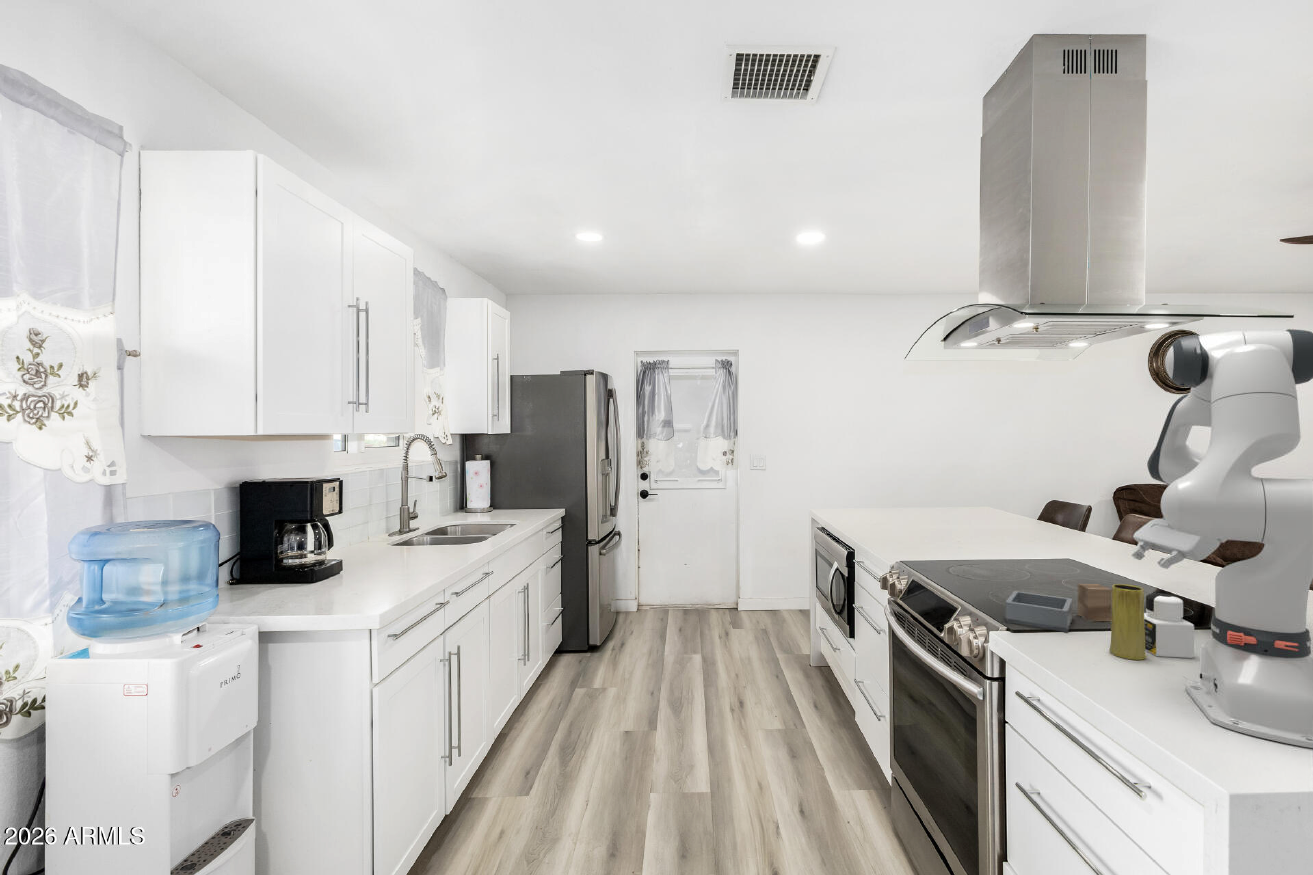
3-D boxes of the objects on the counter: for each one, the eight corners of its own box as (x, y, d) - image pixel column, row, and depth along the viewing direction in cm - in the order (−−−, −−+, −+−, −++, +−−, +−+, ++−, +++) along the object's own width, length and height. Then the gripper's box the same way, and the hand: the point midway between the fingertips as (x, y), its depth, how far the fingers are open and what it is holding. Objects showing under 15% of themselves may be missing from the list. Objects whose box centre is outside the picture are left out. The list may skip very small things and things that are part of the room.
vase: (1110, 656, 126) (1110, 588, 126) (1108, 647, 131) (1108, 581, 131) (1147, 662, 122) (1147, 592, 122) (1144, 653, 127) (1144, 585, 127)
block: (1111, 621, 148) (1111, 589, 147) (1089, 621, 148) (1089, 588, 148) (1099, 615, 153) (1099, 584, 152) (1077, 615, 153) (1077, 583, 153)
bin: (1067, 632, 140) (1067, 611, 140) (1005, 622, 148) (1005, 601, 148) (1072, 618, 150) (1072, 598, 150) (1014, 609, 158) (1014, 590, 158)
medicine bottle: (1135, 644, 132) (1135, 590, 132) (1172, 646, 131) (1173, 591, 131) (1155, 656, 125) (1155, 599, 125) (1194, 658, 124) (1195, 600, 124)
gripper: (1152, 507, 158) (1111, 544, 159) (1214, 519, 138) (1167, 561, 139) (1170, 524, 157) (1130, 561, 159) (1236, 539, 137) (1188, 581, 138)
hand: (1147, 561), depth 149 cm, fingers open, 8 cm apart
